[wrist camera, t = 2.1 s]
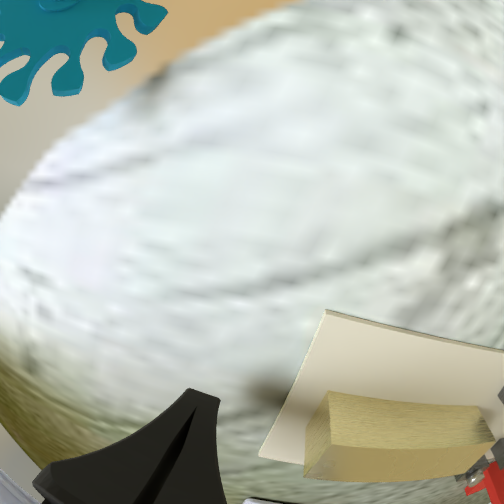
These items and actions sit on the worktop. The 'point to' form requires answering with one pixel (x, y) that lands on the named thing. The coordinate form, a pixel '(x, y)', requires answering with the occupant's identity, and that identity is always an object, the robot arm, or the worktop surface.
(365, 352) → the mat
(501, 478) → the bracket
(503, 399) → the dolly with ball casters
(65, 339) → the worktop surface
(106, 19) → the gear
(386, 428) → the sanding block
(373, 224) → the worktop surface
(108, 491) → the robot arm
